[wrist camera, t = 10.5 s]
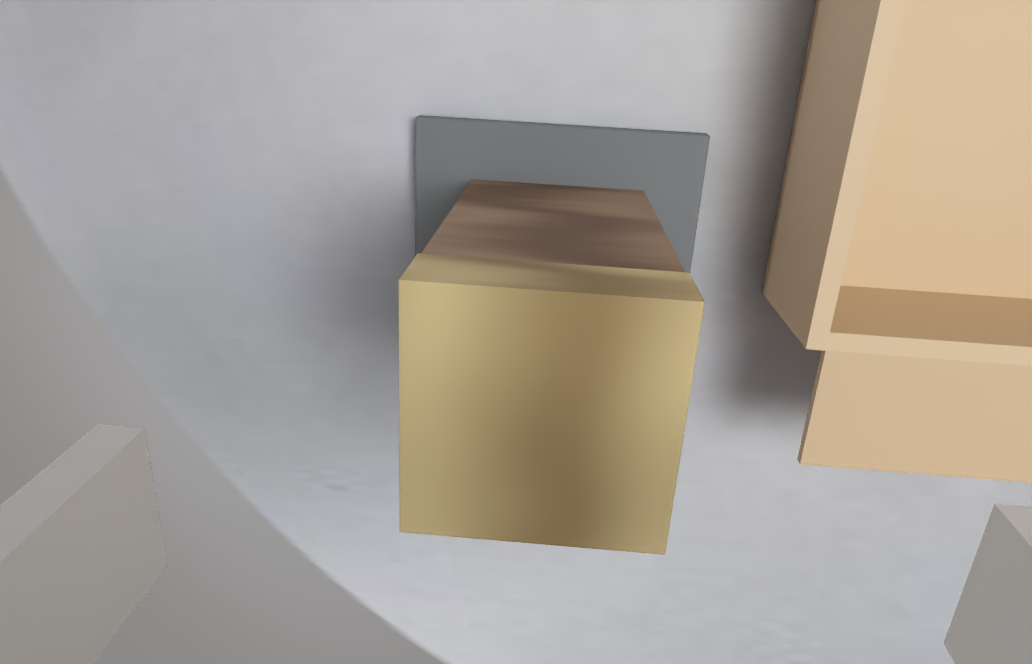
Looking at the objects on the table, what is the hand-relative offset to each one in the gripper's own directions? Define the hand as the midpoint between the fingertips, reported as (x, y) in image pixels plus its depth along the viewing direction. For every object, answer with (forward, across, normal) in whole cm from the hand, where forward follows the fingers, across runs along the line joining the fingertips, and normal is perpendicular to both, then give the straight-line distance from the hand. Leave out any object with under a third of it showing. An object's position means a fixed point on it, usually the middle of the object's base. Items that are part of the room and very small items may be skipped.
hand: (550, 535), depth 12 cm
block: (+16, 0, -1) cm, 16 cm away
